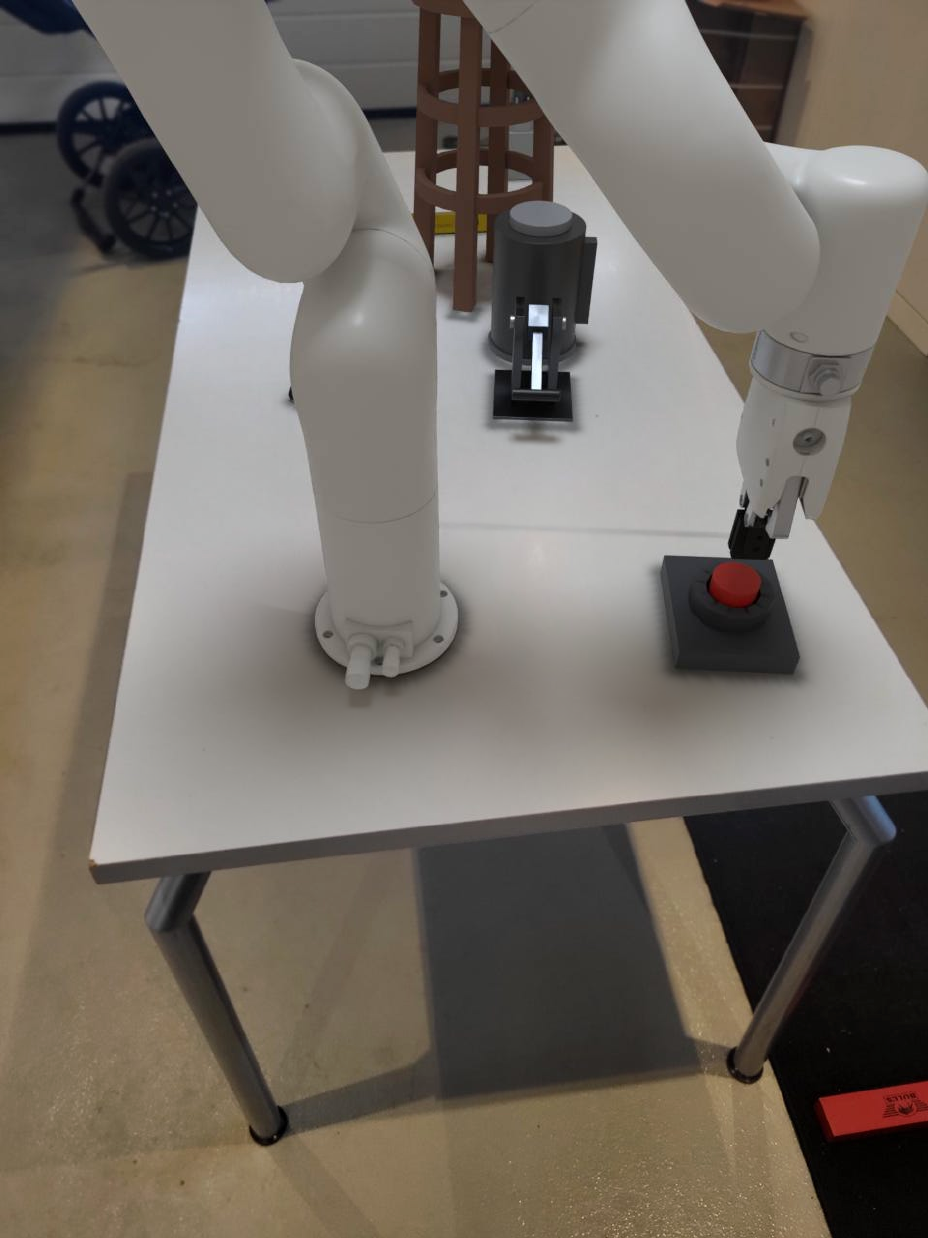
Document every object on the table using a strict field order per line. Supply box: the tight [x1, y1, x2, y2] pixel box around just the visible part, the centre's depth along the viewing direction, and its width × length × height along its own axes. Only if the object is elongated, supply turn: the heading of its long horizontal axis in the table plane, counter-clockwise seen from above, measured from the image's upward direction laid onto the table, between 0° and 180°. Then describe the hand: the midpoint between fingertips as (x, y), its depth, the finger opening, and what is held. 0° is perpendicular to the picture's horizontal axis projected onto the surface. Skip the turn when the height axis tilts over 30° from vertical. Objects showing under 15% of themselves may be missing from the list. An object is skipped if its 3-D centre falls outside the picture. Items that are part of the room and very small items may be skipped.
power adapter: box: [508, 96, 533, 181], centre depth 146 cm, size 3×5×12 cm, turn 96°
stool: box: [411, 0, 555, 313], centre depth 110 cm, size 20×35×20 cm
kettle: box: [487, 201, 598, 367], centre depth 106 cm, size 13×12×17 cm
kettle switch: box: [512, 305, 560, 401], centre depth 94 cm, size 11×5×2 cm, turn 177°
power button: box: [709, 562, 761, 608], centre depth 76 cm, size 4×4×2 cm
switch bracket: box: [492, 297, 574, 423], centre depth 99 cm, size 10×9×12 cm
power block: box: [659, 554, 801, 675], centre depth 78 cm, size 12×10×4 cm
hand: (747, 552), depth 73 cm, fingers closed
